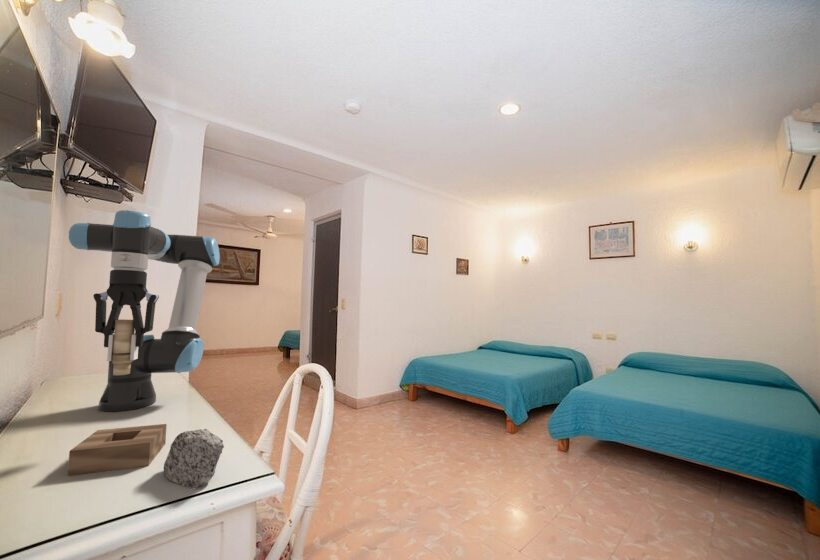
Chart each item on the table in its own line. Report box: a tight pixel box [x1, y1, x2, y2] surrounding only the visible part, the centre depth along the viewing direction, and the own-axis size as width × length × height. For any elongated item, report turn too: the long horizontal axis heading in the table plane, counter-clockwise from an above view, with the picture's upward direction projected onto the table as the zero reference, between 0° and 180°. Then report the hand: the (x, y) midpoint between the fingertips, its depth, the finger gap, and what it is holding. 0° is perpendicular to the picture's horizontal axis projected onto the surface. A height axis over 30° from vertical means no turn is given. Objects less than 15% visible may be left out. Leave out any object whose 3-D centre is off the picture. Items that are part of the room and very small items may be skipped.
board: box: [67, 423, 168, 476], centre depth 80 cm, size 12×14×5 cm
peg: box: [112, 318, 135, 375], centre depth 89 cm, size 4×4×14 cm
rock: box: [163, 428, 225, 490], centre depth 72 cm, size 16×8×10 cm, turn 47°
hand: (122, 359), depth 89 cm, fingers closed on peg, 4 cm apart
